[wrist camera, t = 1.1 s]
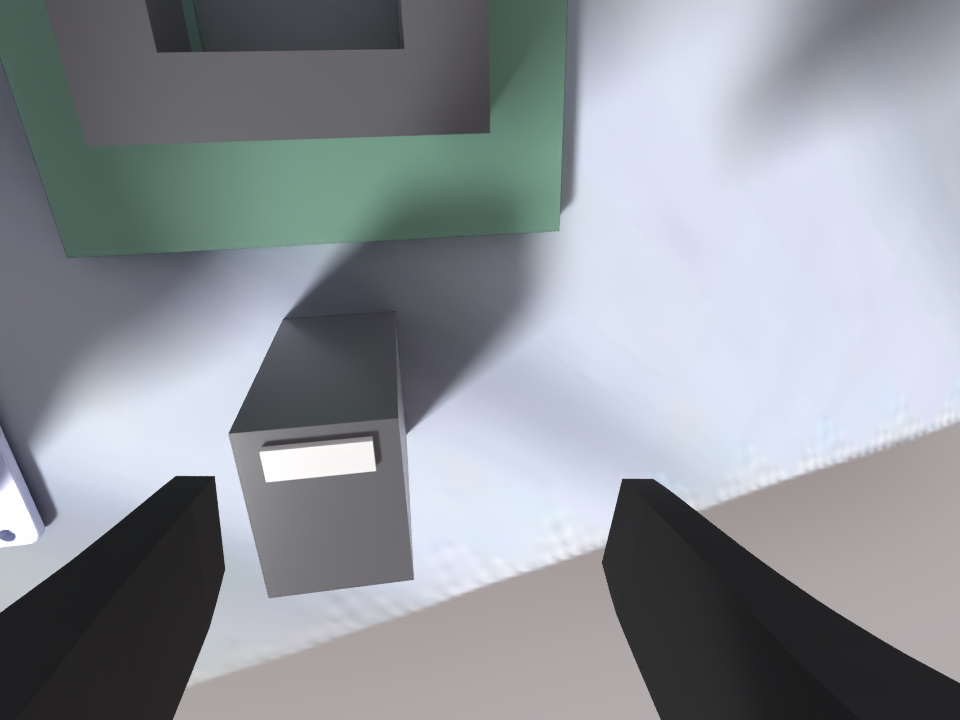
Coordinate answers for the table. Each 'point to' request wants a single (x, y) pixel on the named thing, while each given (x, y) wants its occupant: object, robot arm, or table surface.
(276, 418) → the plug
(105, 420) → the table surface
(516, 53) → the board
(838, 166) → the table surface
